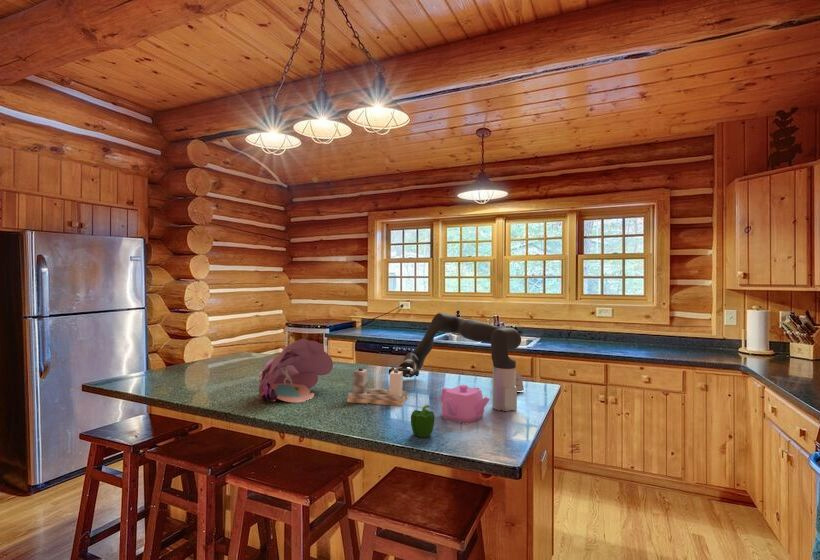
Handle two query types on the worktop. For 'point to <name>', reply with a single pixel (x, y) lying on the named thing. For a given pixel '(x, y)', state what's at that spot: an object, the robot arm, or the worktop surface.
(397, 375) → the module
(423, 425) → the bell pepper
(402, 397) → the rail plate
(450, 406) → the teakettle
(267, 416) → the worktop surface
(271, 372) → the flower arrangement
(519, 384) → the electrical switch
